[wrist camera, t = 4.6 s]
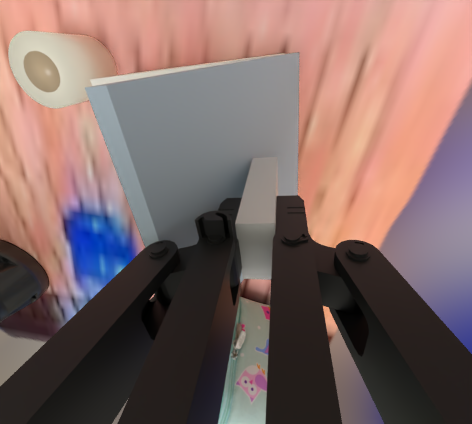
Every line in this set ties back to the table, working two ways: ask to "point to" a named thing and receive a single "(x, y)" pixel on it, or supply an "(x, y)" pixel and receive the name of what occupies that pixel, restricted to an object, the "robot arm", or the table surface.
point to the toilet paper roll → (58, 66)
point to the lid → (198, 138)
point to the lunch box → (247, 366)
